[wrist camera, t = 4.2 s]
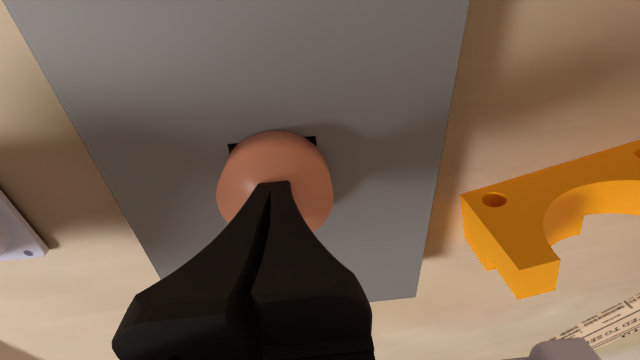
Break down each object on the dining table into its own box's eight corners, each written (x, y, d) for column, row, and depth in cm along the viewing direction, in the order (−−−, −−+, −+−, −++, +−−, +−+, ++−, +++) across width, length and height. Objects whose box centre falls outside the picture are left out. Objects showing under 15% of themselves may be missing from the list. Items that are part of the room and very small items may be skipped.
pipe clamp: (463, 236, 22) (516, 316, 17) (459, 193, 20) (519, 270, 15) (635, 187, 21) (753, 258, 16) (652, 133, 19) (798, 196, 13)
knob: (244, 191, 18) (231, 247, 14) (224, 112, 15) (201, 156, 11) (326, 183, 18) (335, 237, 14) (321, 103, 15) (330, 144, 12)
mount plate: (196, 284, 23) (184, 321, 20) (13, -104, 11) (-72, -129, 8) (402, 263, 23) (415, 297, 21) (454, -136, 11) (500, -170, 9)
